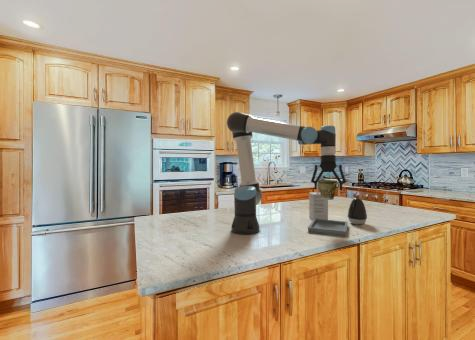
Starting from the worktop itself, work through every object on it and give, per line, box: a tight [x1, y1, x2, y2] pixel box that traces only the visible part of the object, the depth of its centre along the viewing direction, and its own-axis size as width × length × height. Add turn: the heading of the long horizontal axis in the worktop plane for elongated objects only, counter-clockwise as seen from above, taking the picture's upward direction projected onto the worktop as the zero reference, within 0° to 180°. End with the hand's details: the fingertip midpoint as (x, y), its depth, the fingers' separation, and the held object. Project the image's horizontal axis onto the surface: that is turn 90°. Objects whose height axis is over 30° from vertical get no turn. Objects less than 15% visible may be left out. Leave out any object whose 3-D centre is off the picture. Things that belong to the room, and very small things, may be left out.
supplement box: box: [308, 191, 329, 221], centre depth 153 cm, size 10×9×17 cm
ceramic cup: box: [317, 179, 340, 201], centre depth 131 cm, size 13×10×10 cm
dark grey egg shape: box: [347, 197, 368, 226], centre depth 142 cm, size 10×10×15 cm
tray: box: [307, 219, 348, 237], centre depth 132 cm, size 18×21×2 cm
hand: (328, 195), depth 131 cm, fingers closed on ceramic cup, 10 cm apart
